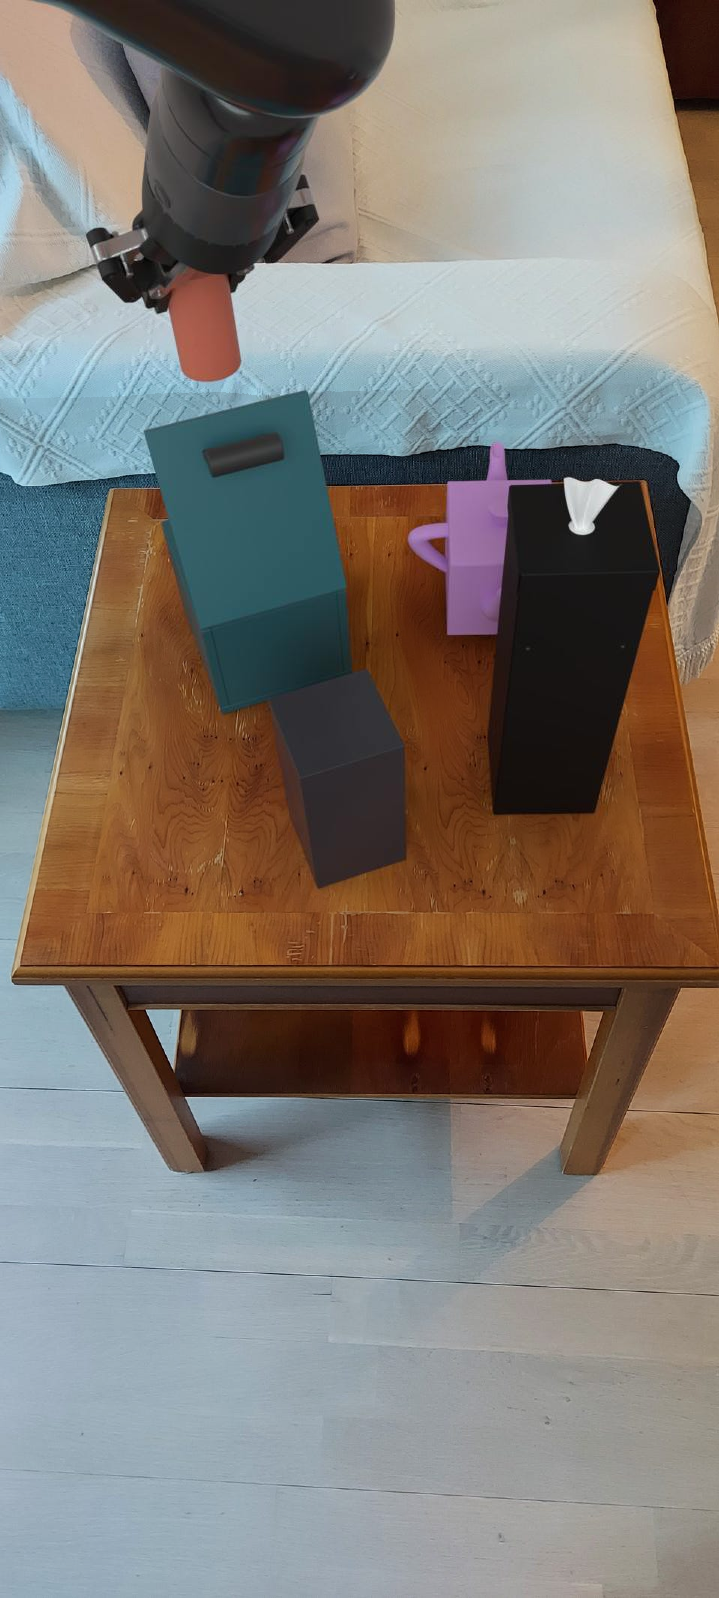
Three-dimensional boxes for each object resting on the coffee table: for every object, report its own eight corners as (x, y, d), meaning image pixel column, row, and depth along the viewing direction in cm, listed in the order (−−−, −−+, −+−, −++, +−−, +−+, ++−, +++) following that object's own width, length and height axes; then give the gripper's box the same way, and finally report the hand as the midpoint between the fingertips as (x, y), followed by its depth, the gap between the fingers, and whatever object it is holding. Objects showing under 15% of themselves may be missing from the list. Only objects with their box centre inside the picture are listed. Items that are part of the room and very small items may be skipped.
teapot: (610, 612, 88) (632, 513, 79) (500, 689, 84) (509, 594, 75) (490, 526, 95) (498, 427, 86) (382, 593, 91) (379, 495, 82)
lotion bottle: (189, 387, 68) (163, 263, 61) (174, 355, 70) (148, 231, 63) (248, 373, 68) (229, 248, 62) (232, 341, 71) (212, 217, 64)
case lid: (143, 430, 68) (151, 441, 64) (305, 389, 70) (323, 398, 65) (199, 626, 75) (209, 648, 71) (344, 585, 77) (363, 604, 73)
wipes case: (183, 606, 91) (160, 521, 83) (304, 572, 93) (293, 485, 85) (221, 714, 83) (201, 632, 75) (352, 675, 85) (346, 591, 77)
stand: (317, 889, 74) (299, 778, 62) (289, 815, 77) (267, 698, 66) (406, 859, 75) (404, 745, 63) (374, 788, 78) (367, 668, 67)
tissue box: (595, 815, 76) (673, 524, 53) (491, 817, 76) (524, 528, 53) (583, 734, 80) (650, 432, 57) (485, 736, 81) (513, 437, 58)
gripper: (327, 52, 51) (269, 203, 67) (55, 116, 48) (64, 257, 65) (374, 206, 52) (306, 317, 69) (114, 277, 50) (108, 375, 66)
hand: (189, 287), depth 67 cm, fingers closed on lotion bottle, 4 cm apart
